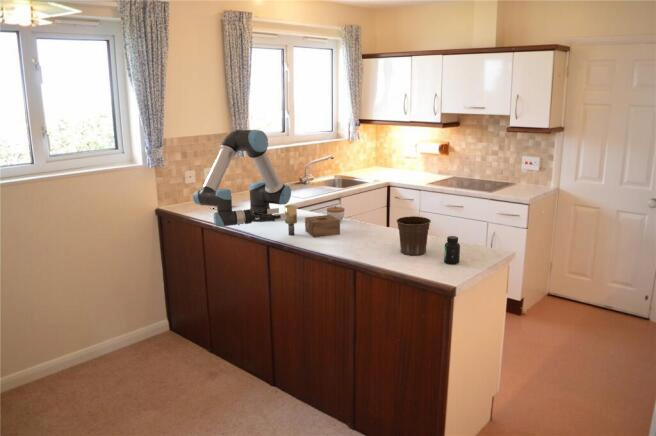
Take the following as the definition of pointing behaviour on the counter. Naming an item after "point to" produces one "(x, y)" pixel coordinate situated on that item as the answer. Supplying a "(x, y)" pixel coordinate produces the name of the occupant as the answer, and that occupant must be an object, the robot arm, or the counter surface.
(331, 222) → the block
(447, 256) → the supplement bottle
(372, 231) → the counter surface
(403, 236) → the plant pot
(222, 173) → the robot arm
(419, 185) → the counter surface
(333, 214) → the lidded jar
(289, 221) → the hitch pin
